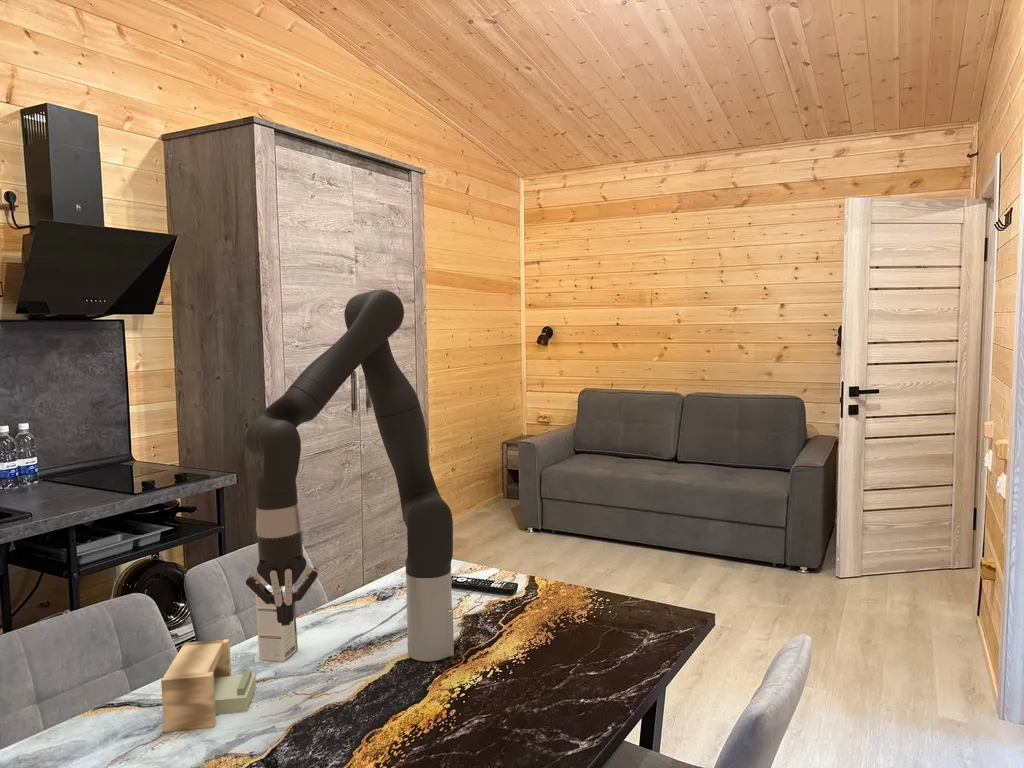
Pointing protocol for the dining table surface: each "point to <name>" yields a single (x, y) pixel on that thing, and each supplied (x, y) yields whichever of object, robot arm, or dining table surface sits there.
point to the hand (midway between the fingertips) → (286, 623)
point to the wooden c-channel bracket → (194, 684)
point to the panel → (234, 692)
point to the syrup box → (274, 632)
